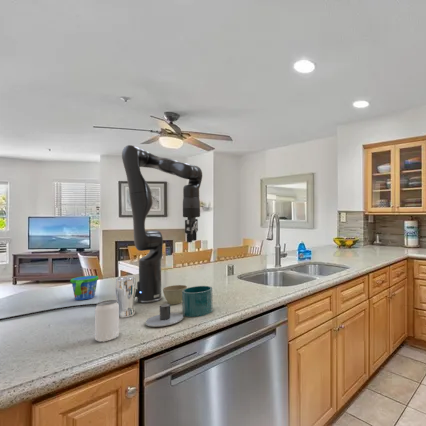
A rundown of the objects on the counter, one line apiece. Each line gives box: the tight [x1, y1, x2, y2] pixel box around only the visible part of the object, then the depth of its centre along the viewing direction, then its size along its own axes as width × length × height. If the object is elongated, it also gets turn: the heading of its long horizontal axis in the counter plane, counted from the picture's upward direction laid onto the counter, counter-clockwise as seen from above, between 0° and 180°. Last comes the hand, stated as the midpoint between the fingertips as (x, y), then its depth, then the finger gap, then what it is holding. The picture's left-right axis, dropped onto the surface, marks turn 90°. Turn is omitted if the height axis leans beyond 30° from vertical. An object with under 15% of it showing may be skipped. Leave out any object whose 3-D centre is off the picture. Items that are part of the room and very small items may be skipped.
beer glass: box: [115, 276, 137, 319], centre depth 120 cm, size 7×7×15 cm
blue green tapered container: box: [69, 275, 100, 301], centre depth 144 cm, size 16×10×10 cm
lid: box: [145, 303, 184, 328], centre depth 112 cm, size 13×13×6 cm
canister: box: [181, 285, 214, 318], centre depth 123 cm, size 12×12×10 cm
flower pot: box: [162, 284, 188, 306], centre depth 135 cm, size 10×10×7 cm
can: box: [94, 299, 120, 343], centre depth 98 cm, size 6×6×12 cm
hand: (191, 241), depth 138 cm, fingers open, 8 cm apart
